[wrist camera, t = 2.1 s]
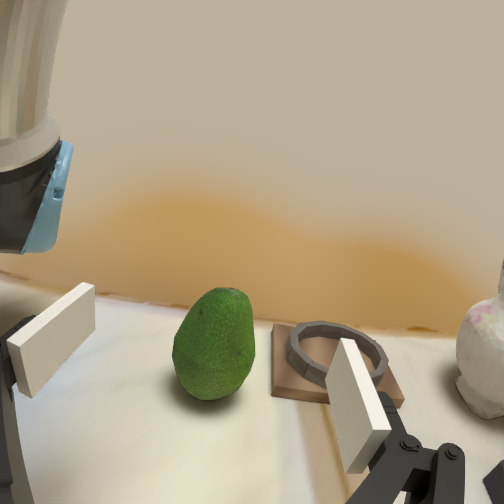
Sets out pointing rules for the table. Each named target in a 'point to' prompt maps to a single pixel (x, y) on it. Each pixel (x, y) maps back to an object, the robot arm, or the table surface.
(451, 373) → the table surface
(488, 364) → the ceramic pitcher
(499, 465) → the calculator
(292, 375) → the ring stand
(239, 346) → the avocado
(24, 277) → the table surface
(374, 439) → the robot arm
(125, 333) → the table surface
